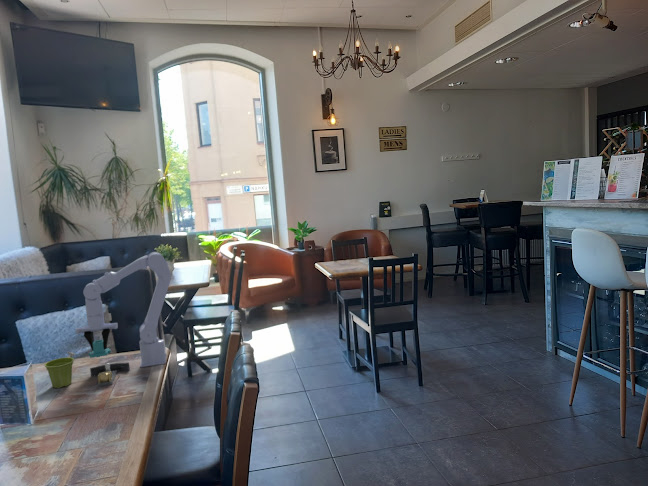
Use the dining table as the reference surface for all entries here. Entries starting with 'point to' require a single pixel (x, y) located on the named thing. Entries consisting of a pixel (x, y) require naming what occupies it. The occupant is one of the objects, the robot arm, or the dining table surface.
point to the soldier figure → (71, 354)
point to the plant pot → (60, 371)
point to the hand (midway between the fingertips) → (99, 349)
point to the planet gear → (99, 349)
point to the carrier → (108, 372)
